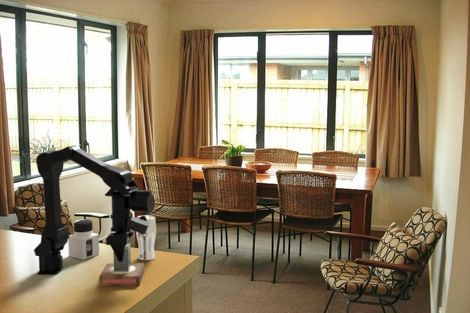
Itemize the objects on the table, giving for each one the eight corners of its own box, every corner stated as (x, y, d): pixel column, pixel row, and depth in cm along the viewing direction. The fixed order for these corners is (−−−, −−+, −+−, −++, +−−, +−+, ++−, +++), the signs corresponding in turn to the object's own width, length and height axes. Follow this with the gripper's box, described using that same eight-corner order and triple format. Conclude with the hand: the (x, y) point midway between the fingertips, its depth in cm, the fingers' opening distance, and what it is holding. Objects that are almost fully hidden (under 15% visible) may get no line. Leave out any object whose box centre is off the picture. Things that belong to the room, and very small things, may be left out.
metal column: (113, 271, 154) (113, 246, 153) (116, 266, 159) (116, 242, 158) (128, 271, 154) (128, 246, 153) (130, 266, 159) (130, 242, 158)
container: (99, 254, 181) (98, 219, 179) (82, 260, 174) (81, 224, 173) (85, 250, 185) (84, 216, 183) (68, 256, 178) (67, 221, 177)
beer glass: (152, 262, 173) (151, 220, 171) (133, 260, 174) (132, 219, 172) (159, 255, 180) (158, 215, 178) (141, 254, 181) (140, 214, 179)
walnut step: (99, 286, 150) (99, 276, 150) (107, 272, 162) (107, 263, 162) (139, 285, 151) (138, 276, 151) (144, 271, 163) (144, 262, 163)
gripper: (143, 217, 145) (144, 268, 147) (150, 203, 164) (151, 249, 166) (104, 217, 145) (106, 269, 147) (116, 204, 163) (117, 250, 165)
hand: (122, 258), depth 156 cm, fingers open, 5 cm apart
